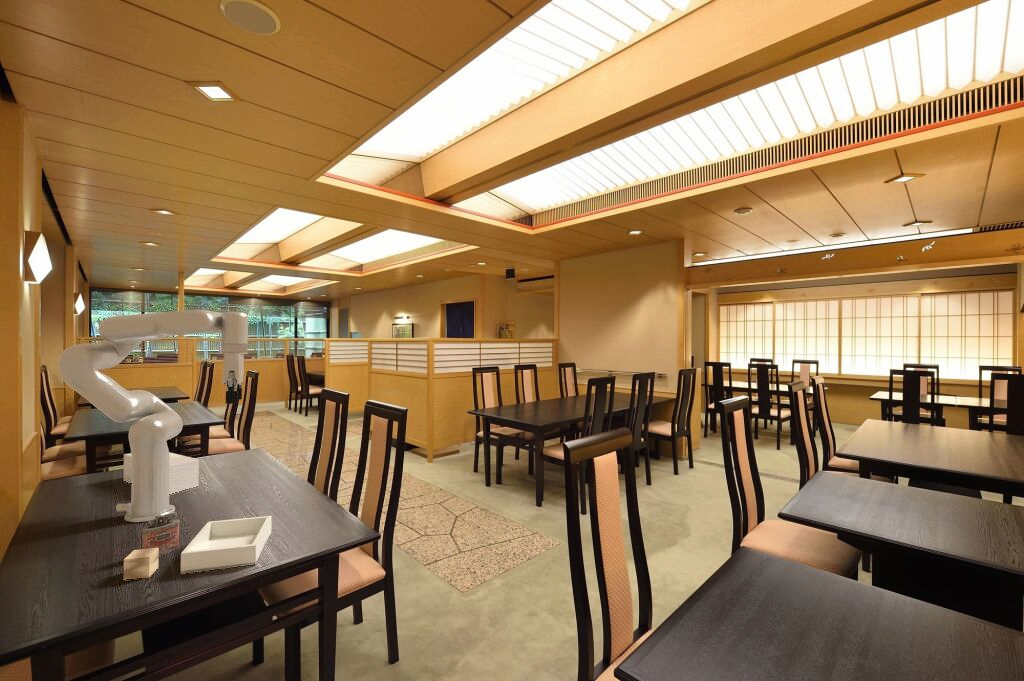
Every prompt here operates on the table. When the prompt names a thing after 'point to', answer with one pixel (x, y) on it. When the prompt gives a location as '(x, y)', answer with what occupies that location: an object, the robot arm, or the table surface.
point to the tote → (226, 544)
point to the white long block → (172, 472)
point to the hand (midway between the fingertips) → (234, 401)
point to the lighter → (162, 533)
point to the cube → (141, 563)
